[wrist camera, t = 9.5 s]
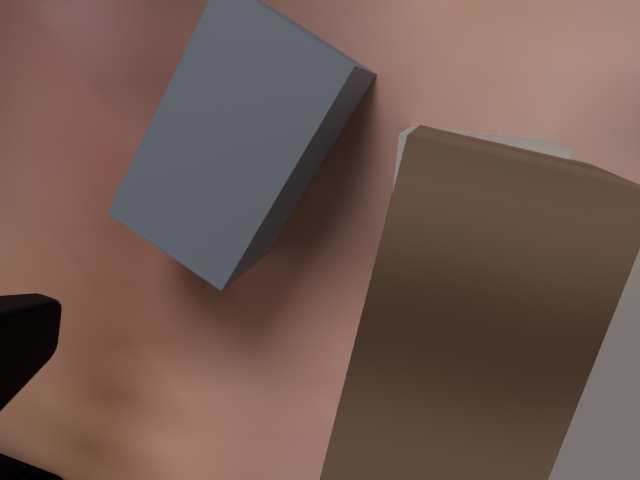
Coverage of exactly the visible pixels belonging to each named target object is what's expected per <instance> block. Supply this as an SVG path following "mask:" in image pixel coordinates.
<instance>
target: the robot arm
mask: <svg viewBox="0 0 640 480" xmlns="http://www.w3.org/2000/svg"><path fill="white" fill-rule="evenodd" d="M61 312H62V308H61V304H60V303H59V301H58V300H56V299H53V298H50V297H48V296H45V295H42V294H36V293H34V294H20V295H5V296H0V411H1V410H2V409H3V408H4V407H5V406H6V405H7V404H8V403H9V402H10V401H11V400H12V398H13V397H14V396H15V395H16V394H17V393H18V392H19V391H20V390H21V389H22V388H23V387H24V386H25V385H26V384H27V383H28V382H29V381H30V380H31V379H32V377H33V376H34V375H35V374H36V373H37V372H38V371H39V370H40V369H41V368H42V367H43V366H44V365H45V364H46V363H47V362H48V361H49V360H50V358H51V357H52V356H53V354H54V352H55V350H56V348H57V344H58V337H59V329H60V320H61ZM0 480H63V479H62V478H61V477H59V476H58V475H55V474H52V473H50V472H47V471H45V470H42V469H39V468H37V467H34V466H32V465H29V464H26V463H24V462H21V461H19V460H16V459H13V458H11V457H8V456H6V455H3V454H0Z"/></svg>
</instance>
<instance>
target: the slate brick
mask: <svg viewBox="0 0 640 480" xmlns="http://www.w3.org/2000/svg"><path fill="white" fill-rule="evenodd" d="M376 75H377V74H375V73H374V72H372V71H370V70H369V69H367V68H366V67H364V66H363V65H361V64H360V63H358V62H356V61H355V60H353V59H352V58H350V57H349V56H347V55H346V54H344V53H342V52H341V51H339V50H338V49H336V48H335V47H333V46H332V45H330V44H328V43H327V42H325V41H324V40H322V39H321V38H319V37H318V36H316V35H314V34H313V33H311V32H310V31H308V30H307V29H305V28H304V27H302V26H300V25H299V24H297V23H296V22H294V21H293V20H291V19H290V18H288V17H286V16H285V15H283V14H282V13H280V12H279V11H277V10H276V9H274V8H272V7H271V6H269V5H267V4H265V3H263V2H262V1H260V0H209V1H208V3H207V6H206V8H205V10H204V12H203V14H202V16H201V18H200V20H199V22H198V24H197V26H196V29H195V31H194V33H193V35H192V37H191V39H190V41H189V43H188V45H187V47H186V49H185V52H184V54H183V56H182V58H181V60H180V62H179V64H178V66H177V68H176V70H175V73H174V75H173V77H172V79H171V81H170V83H169V85H168V87H167V89H166V91H165V93H164V96H163V98H162V100H161V102H160V104H159V106H158V108H157V110H156V112H155V114H154V116H153V119H152V121H151V123H150V125H149V127H148V129H147V131H146V133H145V135H144V137H143V139H142V142H141V144H140V146H139V148H138V150H137V152H136V154H135V156H134V158H133V160H132V162H131V165H130V167H129V169H128V171H127V173H126V175H125V177H124V179H123V181H122V183H121V185H120V188H119V190H118V192H117V194H116V196H115V198H114V200H113V202H112V204H111V206H110V208H109V211H108V213H107V214H109V215H110V216H112V217H113V218H115V219H116V220H118V221H119V222H120V223H122V224H123V225H125V226H126V227H128V228H129V229H131V230H132V231H134V232H135V233H137V234H138V235H140V236H141V237H142V238H144V239H145V240H147V241H148V242H150V243H151V244H153V245H154V246H156V247H157V248H159V249H160V250H162V251H163V252H165V253H166V254H167V255H169V256H170V257H172V258H173V259H175V260H176V261H178V262H179V263H181V264H182V265H184V266H185V267H187V268H188V269H189V270H191V271H192V272H194V273H195V274H197V275H198V276H200V277H201V278H203V279H204V280H206V281H207V282H209V283H210V284H212V285H213V286H214V287H216V288H217V289H219V290H220V291H222V290H224V289H225V288H226V287H227V286H228V285H230V284H231V283H232V282H233V281H234V280H236V279H237V278H238V277H239V276H240V275H242V274H243V273H244V272H245V271H246V270H248V269H249V268H250V267H251V266H252V265H254V264H255V263H256V262H257V261H258V260H260V259H261V258H262V257H263V256H264V255H266V254H267V253H268V252H269V250H270V249H271V247H272V245H273V244H274V242H275V241H276V239H277V237H278V236H279V234H280V232H281V231H282V229H283V227H284V226H285V224H286V222H287V221H288V219H289V218H290V216H291V214H292V213H293V211H294V209H295V208H296V206H297V204H298V203H299V201H300V199H301V198H302V196H303V195H304V193H305V191H306V190H307V188H308V186H309V185H310V183H311V181H312V180H313V178H314V177H315V175H316V173H317V172H318V170H319V168H320V167H321V165H322V163H323V162H324V160H325V158H326V157H327V155H328V154H329V152H330V150H331V149H332V147H333V145H334V144H335V142H336V140H337V139H338V137H339V135H340V134H341V132H342V131H343V129H344V127H345V126H346V124H347V122H348V121H349V119H350V117H351V116H352V114H353V112H354V111H355V109H356V108H357V106H358V104H359V103H360V101H361V99H362V98H363V96H364V94H365V93H366V91H367V89H368V88H369V86H370V85H371V83H372V81H373V80H374V78H375V76H376Z"/></svg>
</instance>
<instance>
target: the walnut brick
mask: <svg viewBox="0 0 640 480" xmlns="http://www.w3.org/2000/svg"><path fill="white" fill-rule="evenodd" d="M639 249H640V185H639V184H636V183H634V182H632V181H629V180H627V179H624V178H622V177H620V176H617V175H615V174H613V173H610V172H608V171H606V170H603V169H601V168H599V167H596V166H594V165H591V164H588V163H584V162H579V161H575V160H571V159H566V158H562V157H557V156H553V155H549V154H544V153H540V152H536V151H531V150H527V149H523V148H518V147H514V146H509V145H505V144H501V143H496V142H492V141H488V140H483V139H479V138H475V137H470V136H466V135H461V134H457V133H453V132H448V131H444V130H440V129H435V128H431V127H427V126H422V125H420V126H418V127H417V128H416V129H414V130H413V131H412V132H411V133H409V134H408V135H407V138H406V142H405V146H404V150H403V154H402V158H401V162H400V166H399V170H398V174H397V178H396V182H395V186H394V190H393V193H392V197H391V201H390V205H389V209H388V213H387V217H386V221H385V225H384V229H383V233H382V237H381V241H380V245H379V249H378V252H377V256H376V260H375V264H374V268H373V272H372V276H371V280H370V284H369V288H368V292H367V296H366V300H365V304H364V308H363V311H362V315H361V319H360V323H359V327H358V331H357V335H356V339H355V343H354V347H353V351H352V355H351V359H350V363H349V367H348V370H347V374H346V378H345V382H344V386H343V390H342V394H341V398H340V402H339V406H338V410H337V414H336V418H335V422H334V426H333V429H332V433H331V437H330V441H329V445H328V449H327V453H326V457H325V461H324V465H323V469H322V473H321V477H320V480H548V478H549V475H550V473H551V470H552V468H553V465H554V463H555V460H556V458H557V455H558V453H559V450H560V448H561V445H562V443H563V440H564V438H565V435H566V433H567V430H568V428H569V425H570V422H571V420H572V417H573V415H574V412H575V410H576V407H577V405H578V402H579V400H580V397H581V395H582V392H583V390H584V387H585V385H586V382H587V380H588V377H589V375H590V372H591V370H592V367H593V365H594V362H595V360H596V357H597V355H598V352H599V350H600V347H601V344H602V342H603V339H604V337H605V334H606V332H607V329H608V327H609V324H610V321H611V319H612V317H613V314H614V312H615V309H616V307H617V304H618V302H619V299H620V297H621V294H622V292H623V289H624V286H625V284H626V281H627V279H628V277H629V274H630V271H631V269H632V266H633V264H634V261H635V259H636V256H637V254H638V251H639Z"/></svg>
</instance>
